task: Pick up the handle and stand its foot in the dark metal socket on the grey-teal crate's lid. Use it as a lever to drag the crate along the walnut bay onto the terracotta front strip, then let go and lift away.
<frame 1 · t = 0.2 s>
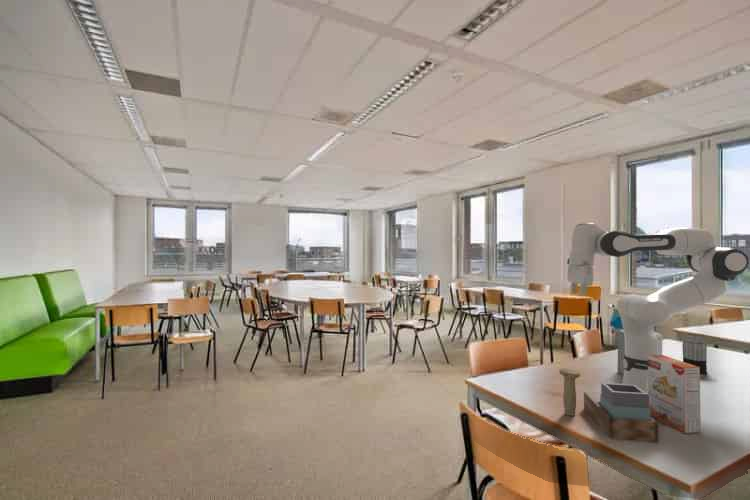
hand: (577, 294, 154), 39 cm above the table, tool pointing down, fingers open, 8 cm apart
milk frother: (683, 370, 179), on the table
hard drive box: (639, 375, 171), on the table
crate: (624, 407, 117), point 7 cm above the table, slide at 0.0 cm
bay: (617, 424, 122), on the table
handle: (569, 414, 129), on the table
cracker box: (672, 424, 122), on the table
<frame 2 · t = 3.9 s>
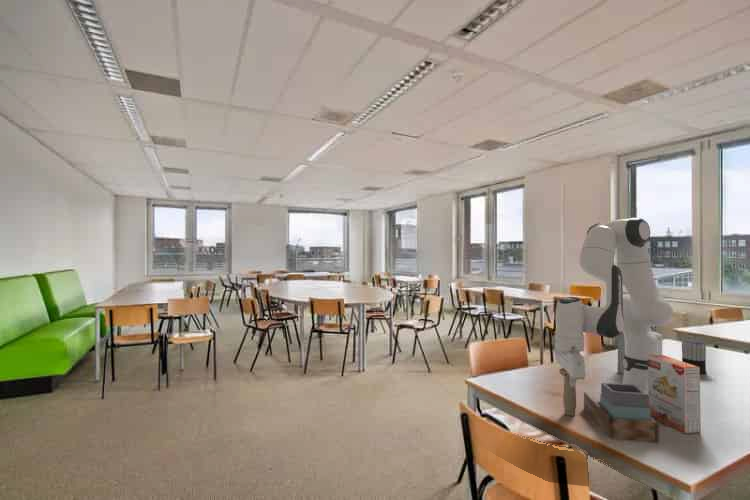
hand: (569, 383, 129), 11 cm above the table, tool pointing down, fingers closed on handle, 4 cm apart
handle: (569, 414, 129), on the table, touching gripper
everything else where it was.
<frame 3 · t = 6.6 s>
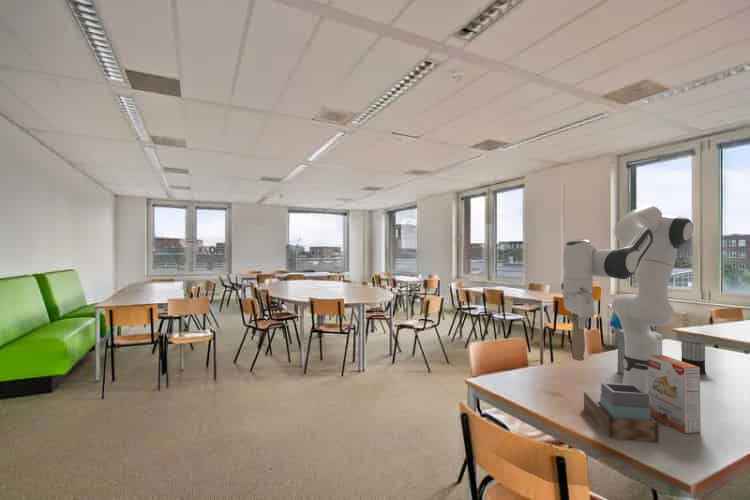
hand: (578, 327, 127), 31 cm above the table, tool pointing down, fingers closed on handle, 4 cm apart
handle: (578, 360, 127), point 19 cm above the table, touching gripper
everything else where it was.
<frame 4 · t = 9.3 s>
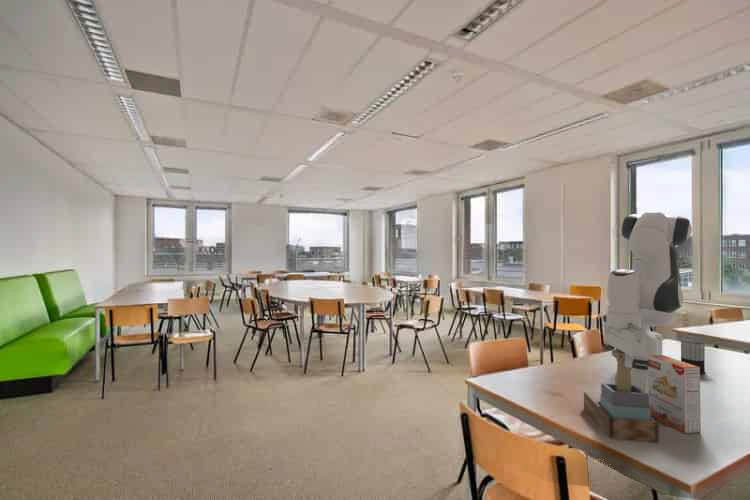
hand: (624, 364, 117), 21 cm above the table, tool pointing down, fingers closed on handle, 4 cm apart
handle: (623, 400, 117), point 9 cm above the table, touching gripper
everything else where it was.
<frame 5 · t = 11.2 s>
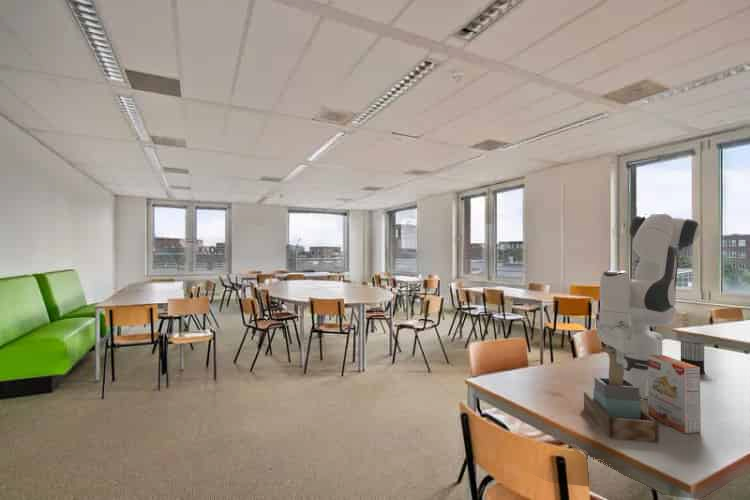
hand: (615, 360, 123), 20 cm above the table, tool pointing down, fingers closed on handle, 4 cm apart
crate: (616, 400, 123), point 7 cm above the table, slide at 5.7 cm, touching handle
handle: (615, 394, 123), point 9 cm above the table, touching crate, gripper
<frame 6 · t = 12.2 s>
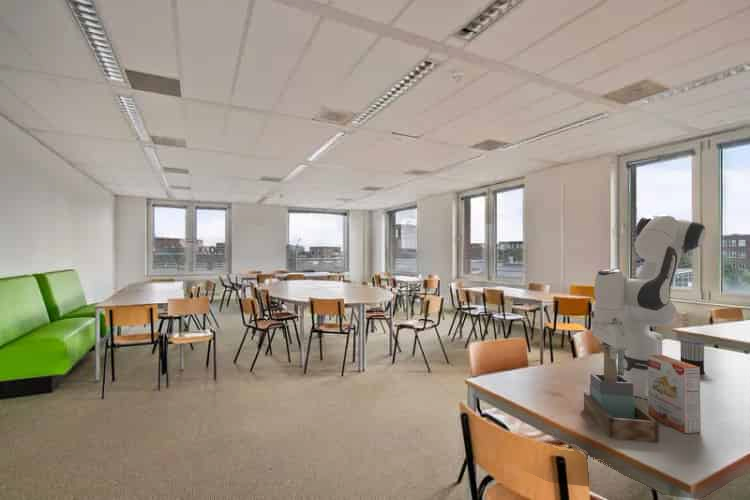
hand: (609, 356, 128), 21 cm above the table, tool pointing down, fingers closed on handle, 4 cm apart
crate: (611, 396, 126), point 7 cm above the table, slide at 9.5 cm, touching handle
handle: (611, 390, 126), point 9 cm above the table, touching crate, gripper
when the fingers open (21 cm above the table, at t = 14.4 s): handle stays where it is, resting on crate.
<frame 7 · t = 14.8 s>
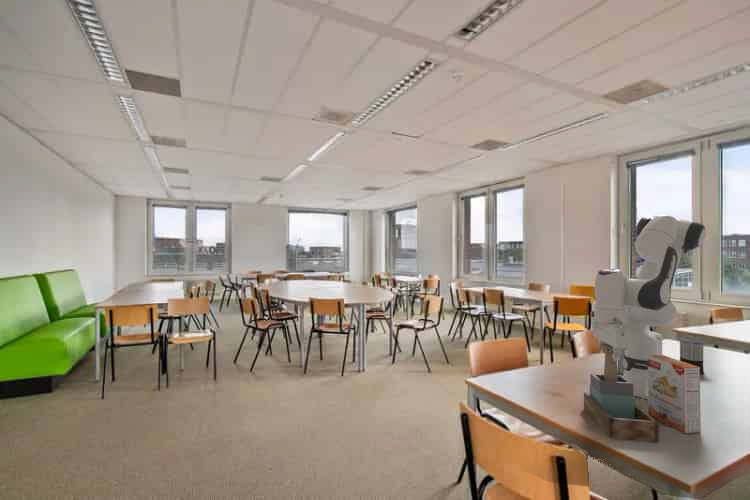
hand: (609, 356, 127), 21 cm above the table, tool pointing down, fingers open, 8 cm apart
handle: (610, 390, 127), point 9 cm above the table, touching crate
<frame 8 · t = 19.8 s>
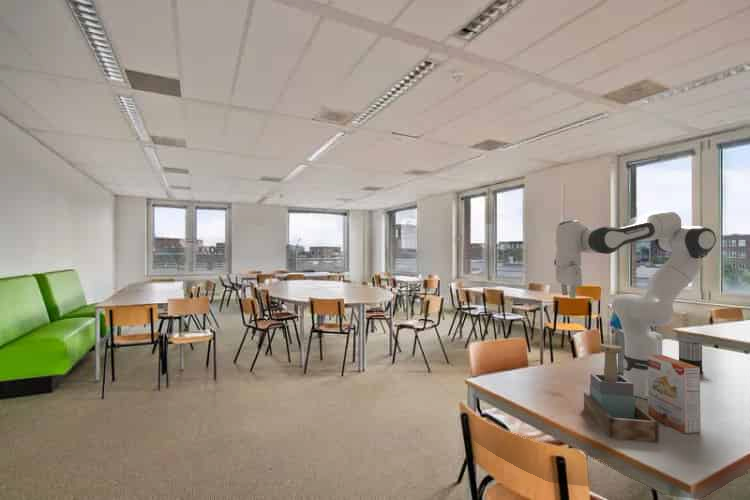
hand: (568, 296, 146), 39 cm above the table, tool pointing down, fingers open, 8 cm apart
at the end: crate slide at 9.5 cm; handle 0.2 cm off-centre on the crate, point 9.2 cm above the crate's base; handle tilted 0° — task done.
